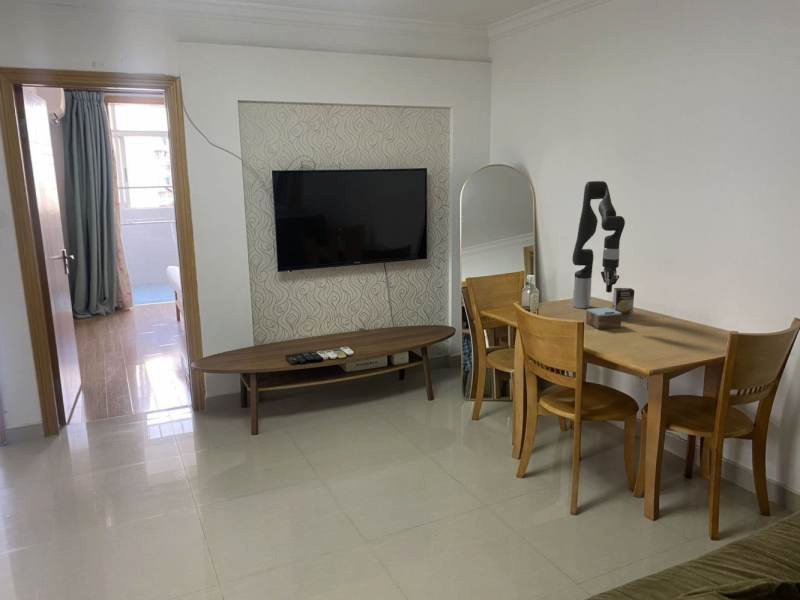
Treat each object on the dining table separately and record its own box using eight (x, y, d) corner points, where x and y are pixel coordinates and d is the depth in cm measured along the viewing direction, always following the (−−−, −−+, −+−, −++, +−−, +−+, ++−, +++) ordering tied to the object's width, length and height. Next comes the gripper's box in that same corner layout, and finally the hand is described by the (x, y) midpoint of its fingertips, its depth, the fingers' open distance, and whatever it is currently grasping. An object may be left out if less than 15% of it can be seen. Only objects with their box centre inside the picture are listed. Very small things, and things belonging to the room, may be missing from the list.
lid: (586, 310, 304) (586, 307, 304) (608, 309, 306) (608, 306, 306) (599, 316, 292) (599, 313, 292) (621, 314, 295) (621, 311, 295)
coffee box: (614, 320, 311) (616, 290, 308) (611, 317, 318) (613, 287, 314) (632, 320, 310) (634, 290, 307) (629, 317, 317) (631, 287, 313)
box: (586, 323, 305) (586, 311, 304) (607, 322, 308) (607, 309, 306) (598, 329, 294) (599, 316, 292) (620, 328, 296) (621, 314, 295)
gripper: (596, 255, 295) (594, 290, 299) (611, 259, 283) (609, 295, 287) (610, 255, 297) (608, 289, 301) (625, 259, 284) (623, 294, 288)
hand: (608, 292), depth 294 cm, fingers closed
